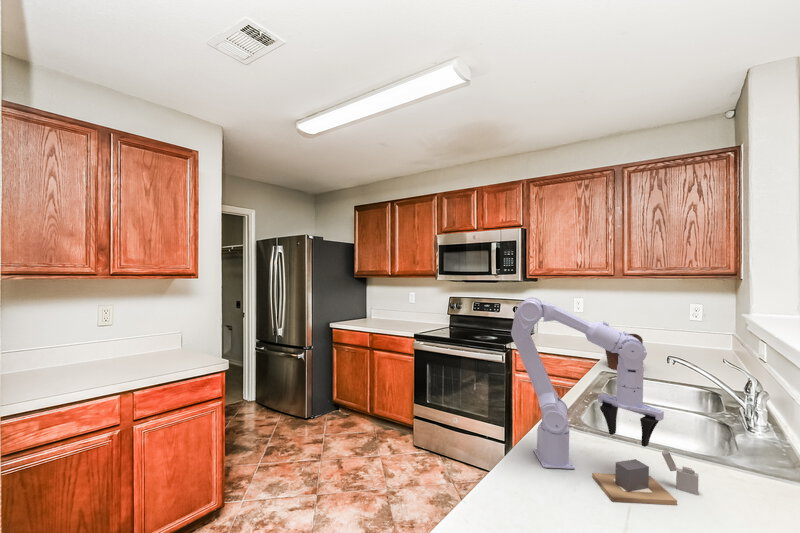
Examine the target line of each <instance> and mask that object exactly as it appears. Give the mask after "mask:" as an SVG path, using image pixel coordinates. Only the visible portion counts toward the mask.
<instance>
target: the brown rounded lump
mask: <svg viewBox="0 0 800 533" xmlns="http://www.w3.org/2000/svg"><path fill="white" fill-rule="evenodd" d="M628 335H632V336H634V337H635V338H637V339H638V340H639V341H640V342H641V343H642V344H643V342H644V340H643V337H642V336H641V335H639V334H638V333H628ZM643 345H644V344H643ZM604 350H605V356H606V361H607V366H608V368H609V369H611V370H615V371H617V365H618V355H619V354H618V353H612V352H610V351H608V350H606V349H604Z"/></svg>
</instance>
